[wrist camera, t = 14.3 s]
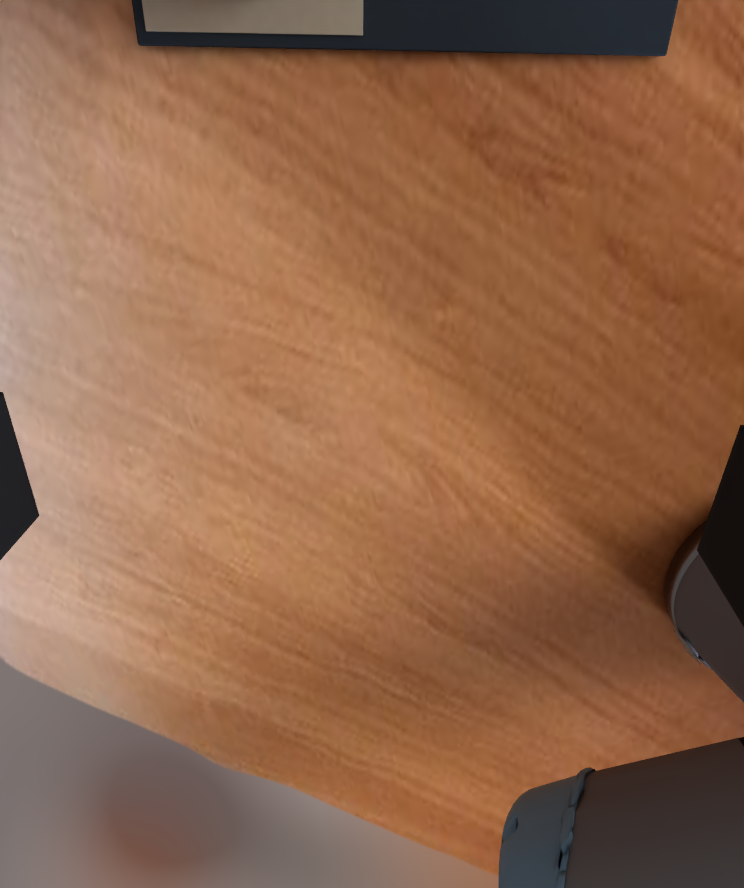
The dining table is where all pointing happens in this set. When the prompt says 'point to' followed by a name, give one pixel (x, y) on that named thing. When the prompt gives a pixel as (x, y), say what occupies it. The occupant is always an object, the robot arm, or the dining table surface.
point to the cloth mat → (413, 25)
